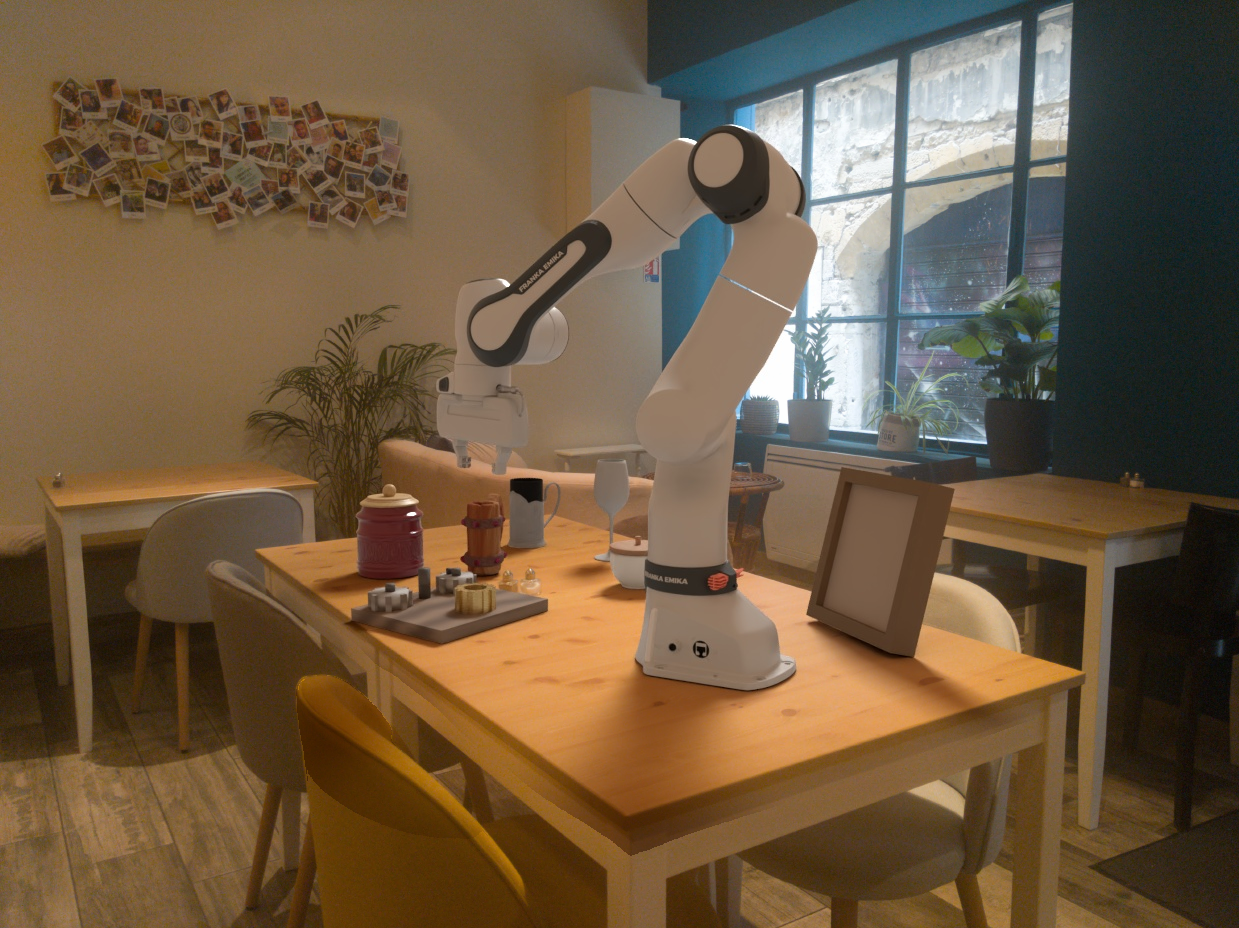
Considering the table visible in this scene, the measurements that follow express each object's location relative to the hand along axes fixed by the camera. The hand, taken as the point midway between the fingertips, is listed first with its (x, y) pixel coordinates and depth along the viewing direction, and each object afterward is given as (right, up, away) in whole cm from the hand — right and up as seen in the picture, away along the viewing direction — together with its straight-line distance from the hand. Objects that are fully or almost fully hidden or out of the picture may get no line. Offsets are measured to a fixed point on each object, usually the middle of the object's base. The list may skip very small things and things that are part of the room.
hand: (481, 470), depth 150 cm
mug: (-4, -21, +39) cm, 44 cm away
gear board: (-6, -24, +5) cm, 25 cm away
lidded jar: (+25, -22, +27) cm, 43 cm away
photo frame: (+63, -26, -4) cm, 68 cm away
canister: (-23, -21, +37) cm, 48 cm away
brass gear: (-1, -22, +2) cm, 22 cm away
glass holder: (+3, -17, +69) cm, 71 cm away
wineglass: (+20, -19, +52) cm, 59 cm away
